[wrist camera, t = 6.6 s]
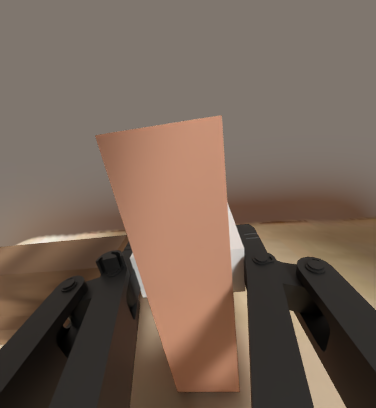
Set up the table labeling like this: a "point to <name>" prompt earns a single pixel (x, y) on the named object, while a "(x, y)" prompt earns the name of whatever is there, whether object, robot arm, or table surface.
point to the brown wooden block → (44, 274)
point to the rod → (180, 242)
